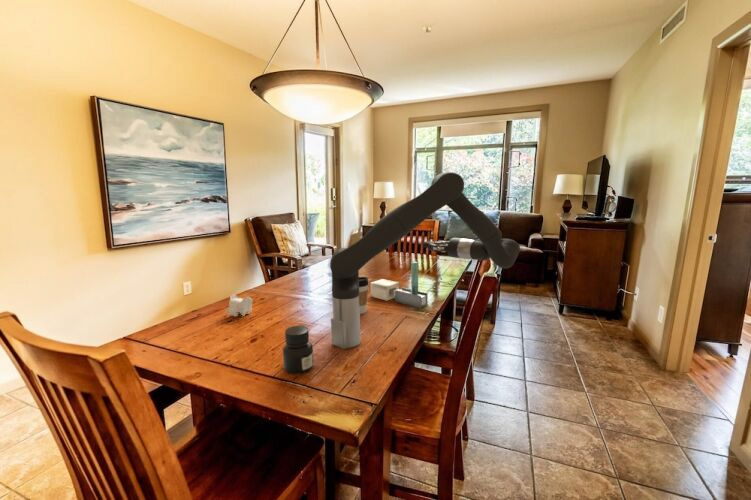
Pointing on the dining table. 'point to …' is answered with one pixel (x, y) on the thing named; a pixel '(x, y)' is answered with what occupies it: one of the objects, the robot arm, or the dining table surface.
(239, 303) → the elephant figurine
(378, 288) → the socket
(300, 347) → the ink bottle
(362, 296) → the coffee cup
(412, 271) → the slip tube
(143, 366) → the dining table surface
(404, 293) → the sleeve
